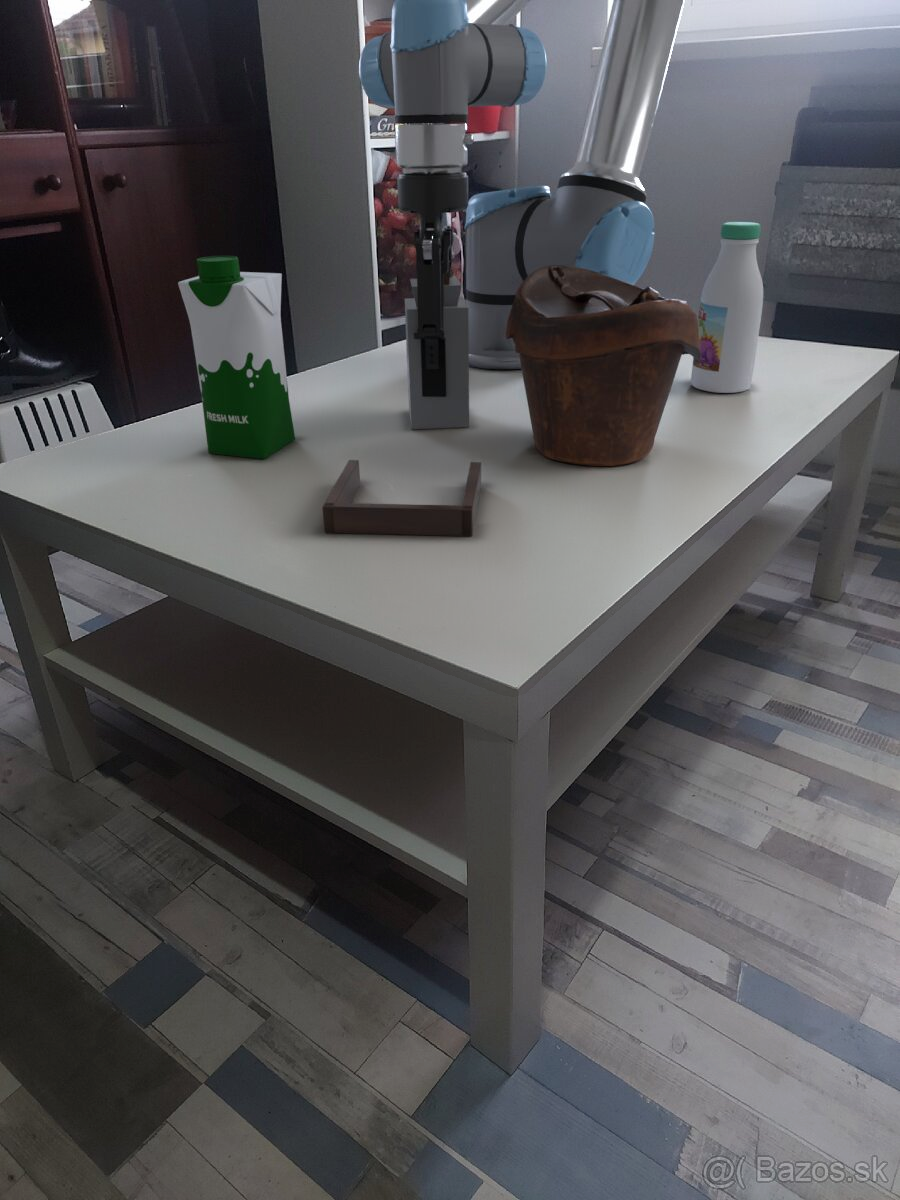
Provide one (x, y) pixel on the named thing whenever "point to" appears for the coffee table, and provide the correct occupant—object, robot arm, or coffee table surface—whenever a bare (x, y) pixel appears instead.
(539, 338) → the case
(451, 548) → the coffee table surface
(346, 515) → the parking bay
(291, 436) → the milk carton
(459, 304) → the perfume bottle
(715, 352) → the milk bottle
